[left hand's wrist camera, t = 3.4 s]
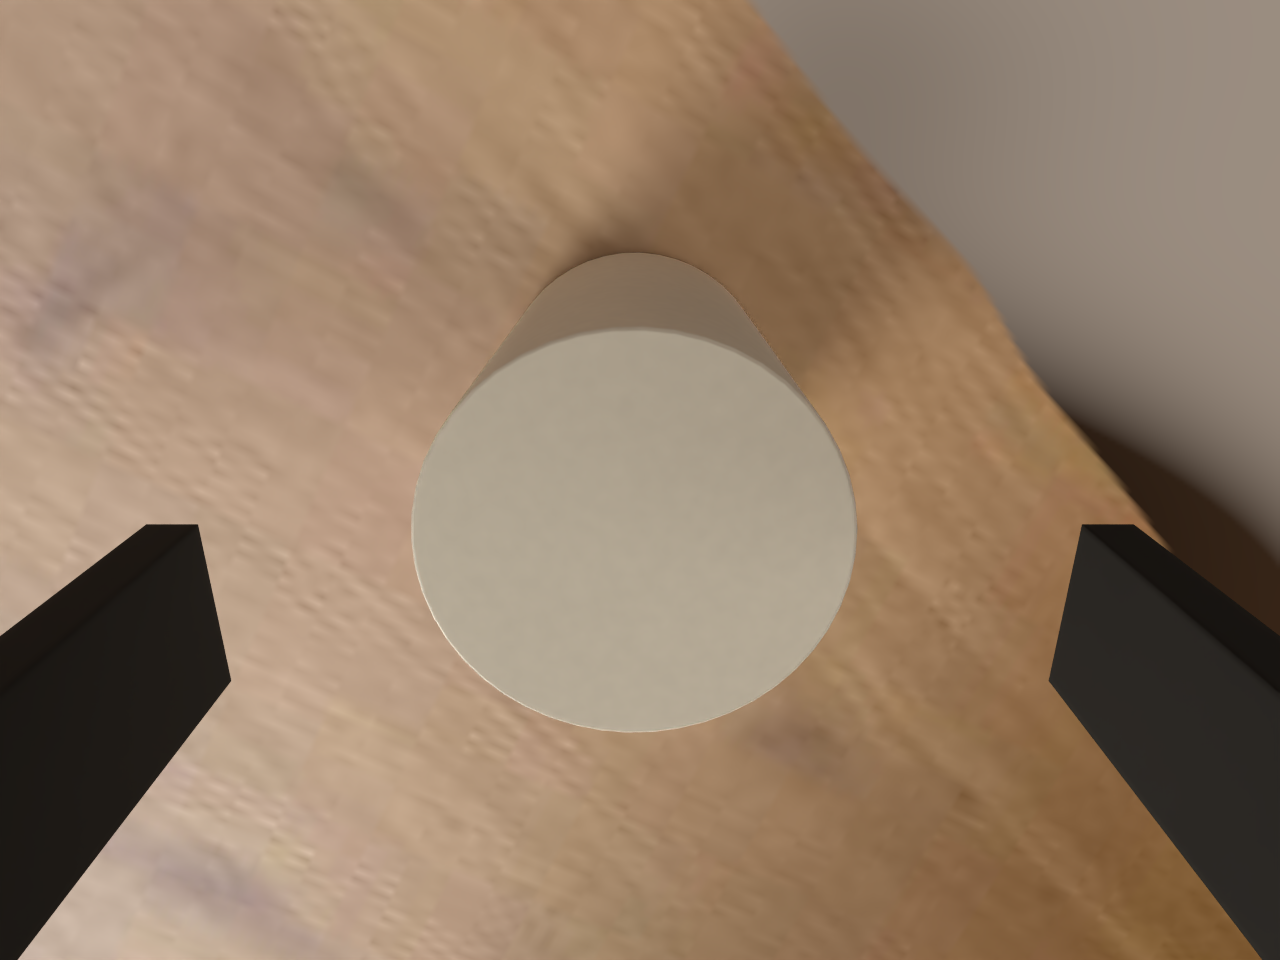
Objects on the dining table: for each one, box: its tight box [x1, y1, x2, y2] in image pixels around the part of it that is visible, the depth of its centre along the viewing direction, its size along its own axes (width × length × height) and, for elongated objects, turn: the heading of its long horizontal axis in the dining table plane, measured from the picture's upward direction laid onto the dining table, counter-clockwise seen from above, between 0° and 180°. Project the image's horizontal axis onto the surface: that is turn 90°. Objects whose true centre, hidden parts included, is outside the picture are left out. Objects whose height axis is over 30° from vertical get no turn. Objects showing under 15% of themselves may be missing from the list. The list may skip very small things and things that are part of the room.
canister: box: [411, 253, 857, 732], centre depth 21 cm, size 8×8×12 cm
